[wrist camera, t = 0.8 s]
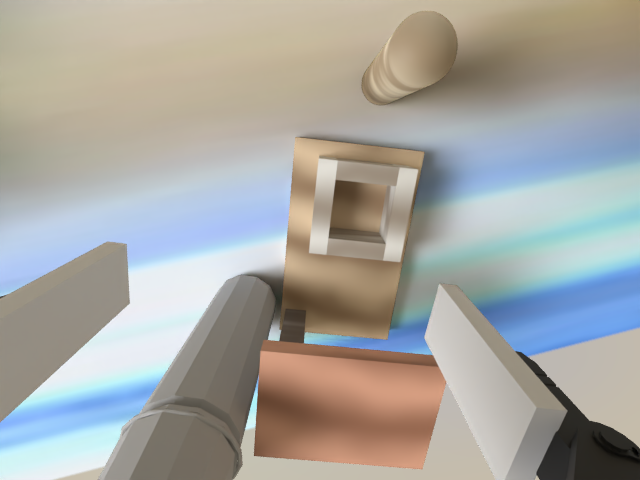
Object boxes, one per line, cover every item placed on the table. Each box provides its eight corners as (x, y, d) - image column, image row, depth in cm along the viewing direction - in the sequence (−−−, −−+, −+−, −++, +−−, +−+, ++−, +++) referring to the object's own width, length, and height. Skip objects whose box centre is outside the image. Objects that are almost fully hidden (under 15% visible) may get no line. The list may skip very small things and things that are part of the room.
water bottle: (227, 261, 39) (80, 463, 15) (288, 285, 40) (243, 512, 16) (203, 323, 41) (45, 581, 18) (261, 345, 42) (187, 617, 19)
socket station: (296, 137, 35) (273, 140, 17) (418, 151, 35) (516, 167, 18) (281, 320, 41) (253, 455, 24) (384, 330, 42) (430, 469, 24)
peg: (364, 58, 32) (396, 6, 19) (405, 63, 32) (464, 15, 19) (358, 102, 34) (384, 82, 20) (397, 107, 34) (449, 90, 20)
